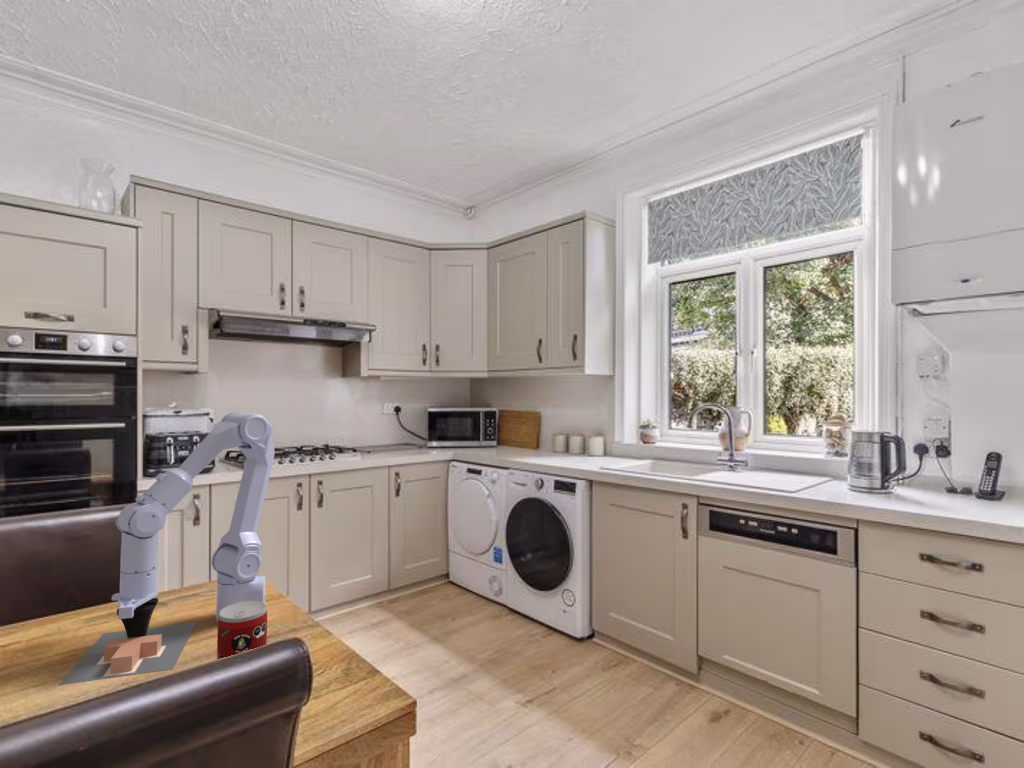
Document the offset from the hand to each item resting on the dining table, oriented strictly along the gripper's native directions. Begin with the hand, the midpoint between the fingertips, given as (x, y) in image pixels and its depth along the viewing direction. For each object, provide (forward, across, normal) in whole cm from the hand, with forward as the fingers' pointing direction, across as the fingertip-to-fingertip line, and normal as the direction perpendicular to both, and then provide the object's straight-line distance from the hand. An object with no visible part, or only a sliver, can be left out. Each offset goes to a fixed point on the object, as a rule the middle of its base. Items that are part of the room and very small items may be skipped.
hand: (137, 643), depth 100 cm
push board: (+2, 0, 0) cm, 2 cm away
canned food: (+2, +14, +19) cm, 23 cm away
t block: (+1, +5, 0) cm, 5 cm away
